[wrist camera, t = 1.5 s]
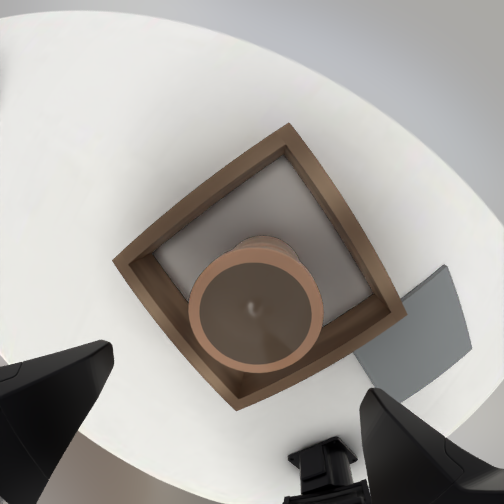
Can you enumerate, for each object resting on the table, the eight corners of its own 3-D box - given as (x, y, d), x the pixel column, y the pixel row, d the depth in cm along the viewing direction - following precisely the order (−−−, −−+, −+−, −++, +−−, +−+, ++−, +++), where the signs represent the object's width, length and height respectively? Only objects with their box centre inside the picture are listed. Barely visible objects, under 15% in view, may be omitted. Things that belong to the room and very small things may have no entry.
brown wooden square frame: (388, 295, 21) (407, 314, 17) (241, 382, 23) (236, 411, 19) (286, 136, 19) (289, 122, 15) (137, 250, 22) (111, 260, 18)
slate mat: (469, 346, 21) (472, 348, 20) (387, 406, 23) (389, 409, 22) (443, 264, 20) (447, 266, 19) (344, 337, 22) (345, 341, 21)
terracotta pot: (323, 285, 21) (347, 332, 13) (252, 329, 22) (240, 390, 14) (274, 212, 20) (272, 220, 12) (202, 263, 22) (162, 298, 14)
